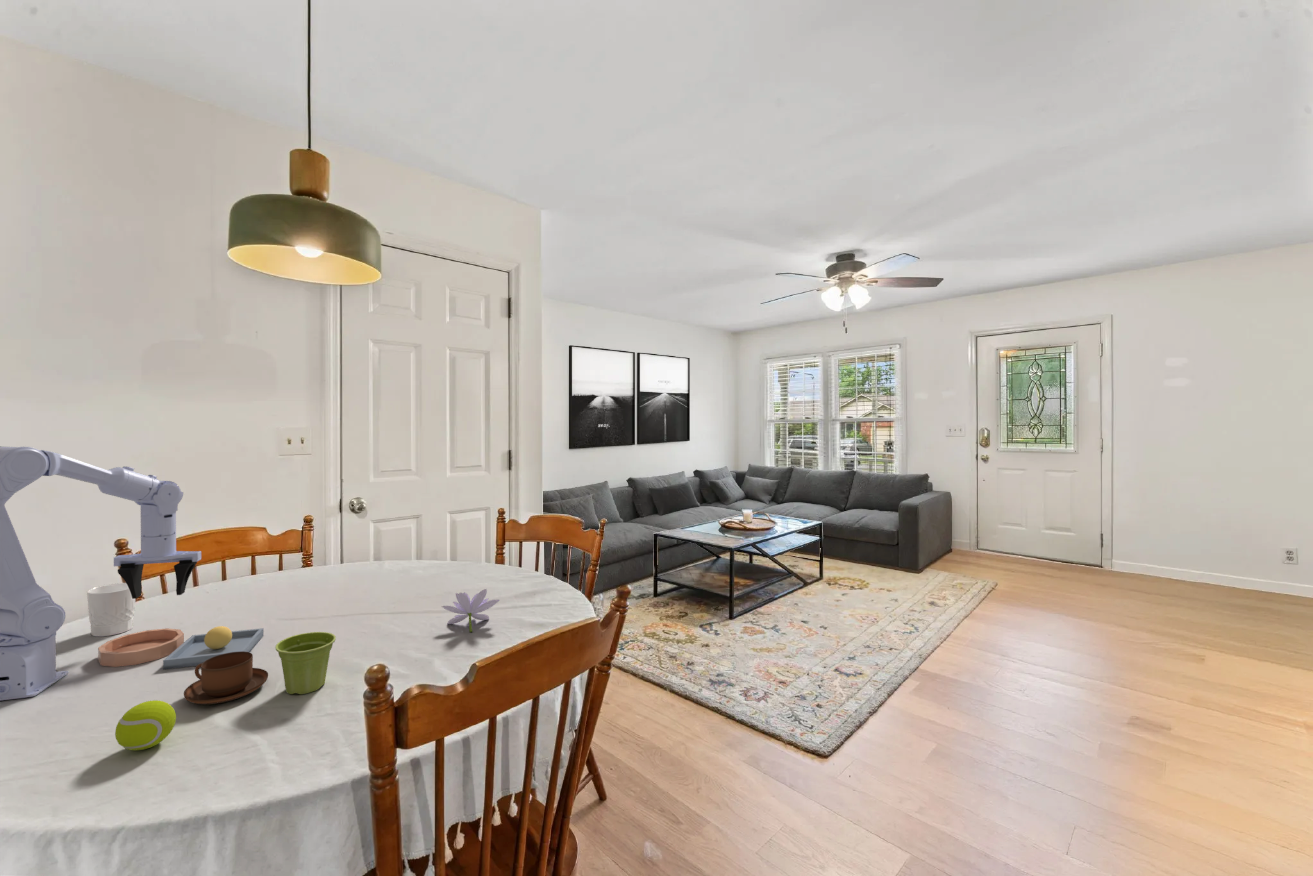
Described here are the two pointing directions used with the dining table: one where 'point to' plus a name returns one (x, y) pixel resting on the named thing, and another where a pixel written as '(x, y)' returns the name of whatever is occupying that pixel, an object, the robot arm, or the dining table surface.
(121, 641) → the bowl
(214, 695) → the cup and saucer
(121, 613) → the white cup
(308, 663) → the plant pot
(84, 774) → the dining table surface
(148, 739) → the tennis ball
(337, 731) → the dining table surface
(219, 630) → the ball
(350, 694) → the dining table surface
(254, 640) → the tray
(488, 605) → the water lily
